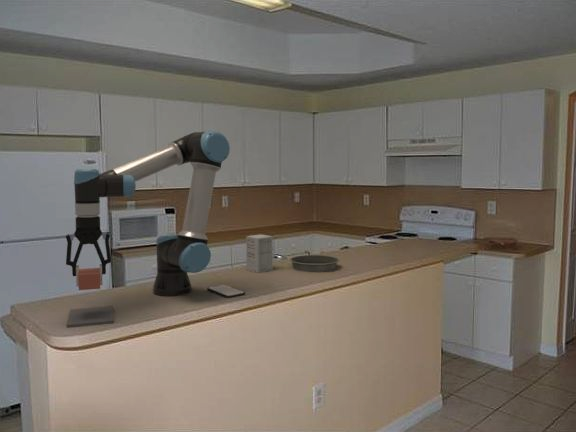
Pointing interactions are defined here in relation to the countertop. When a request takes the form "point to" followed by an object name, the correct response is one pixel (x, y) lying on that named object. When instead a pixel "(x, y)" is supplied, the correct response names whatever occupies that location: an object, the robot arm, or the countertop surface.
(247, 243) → the supplement box
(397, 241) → the countertop surface
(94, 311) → the rubber mat
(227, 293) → the phone case
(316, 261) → the cake pan
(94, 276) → the card deck box
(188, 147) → the robot arm
